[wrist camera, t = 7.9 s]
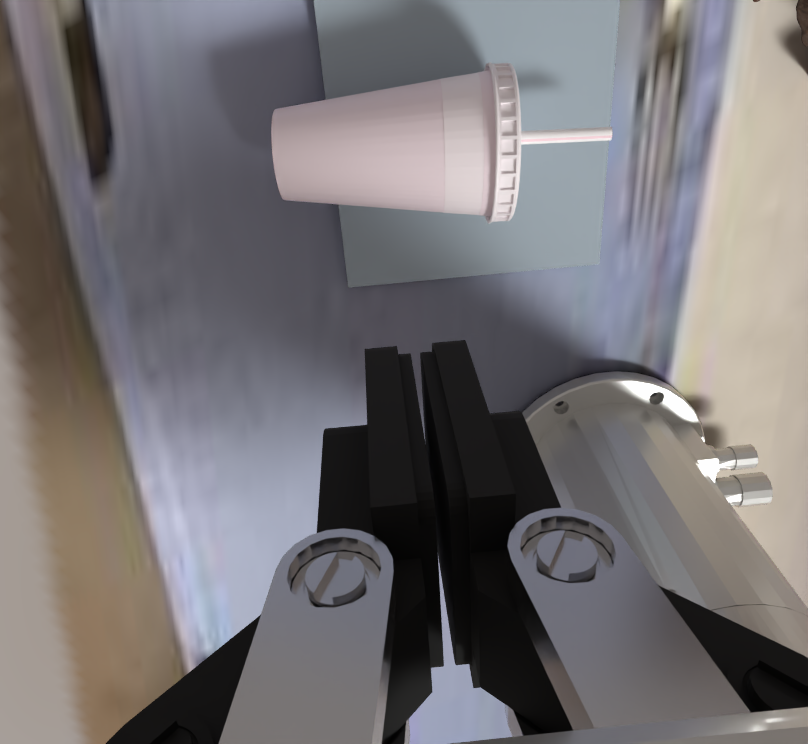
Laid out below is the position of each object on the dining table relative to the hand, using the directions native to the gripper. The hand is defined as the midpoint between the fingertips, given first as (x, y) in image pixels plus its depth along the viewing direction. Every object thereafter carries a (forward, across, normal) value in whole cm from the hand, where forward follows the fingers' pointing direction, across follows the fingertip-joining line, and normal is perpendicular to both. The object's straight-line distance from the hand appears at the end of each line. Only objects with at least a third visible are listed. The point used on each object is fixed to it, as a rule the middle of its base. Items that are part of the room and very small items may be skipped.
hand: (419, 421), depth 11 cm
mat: (+23, -4, 0) cm, 24 cm away
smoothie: (+20, +4, -1) cm, 20 cm away
